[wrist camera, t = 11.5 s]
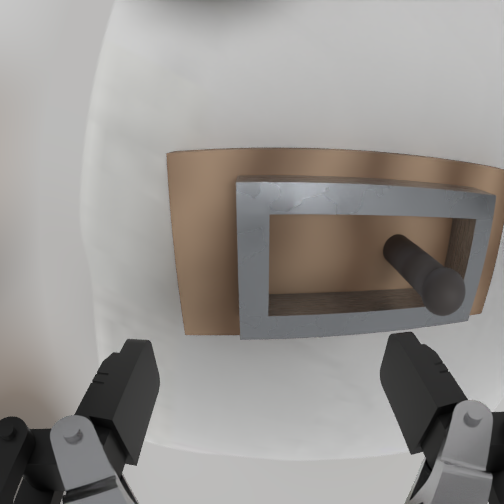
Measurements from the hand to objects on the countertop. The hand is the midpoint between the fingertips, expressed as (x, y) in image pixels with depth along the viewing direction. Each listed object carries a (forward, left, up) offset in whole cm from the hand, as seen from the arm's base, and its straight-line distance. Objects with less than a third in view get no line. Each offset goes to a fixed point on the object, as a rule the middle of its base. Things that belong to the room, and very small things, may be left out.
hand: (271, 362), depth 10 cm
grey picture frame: (-7, 0, -10) cm, 12 cm away
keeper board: (-7, 0, -12) cm, 14 cm away
